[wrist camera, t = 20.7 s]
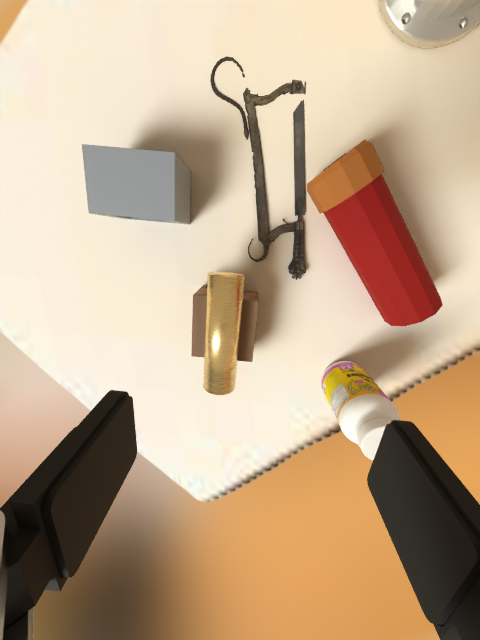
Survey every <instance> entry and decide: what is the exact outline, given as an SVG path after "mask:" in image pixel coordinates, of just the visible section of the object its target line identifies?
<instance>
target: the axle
mask: <svg viewBox="0 0 480 640" xmlns="http://www.w3.org/2000/svg"><path fill="white" fill-rule="evenodd" d="M244 279H245V276H244V275H242V274H238V273H232V272H209V273H208V286H207V310H206V333H205V356H204V380H203V387H204V389H205V390H206V391H207V392H209V393H211V394H215V395H224V394H228V393H230V392H232V391H233V390H234V388H235V380H236V368H237V357H238V346H239V335H240V324H241V312H242V301H243V290H244Z"/></svg>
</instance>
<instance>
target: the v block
mask: <svg viewBox="0 0 480 640" xmlns="http://www.w3.org/2000/svg"><path fill="white" fill-rule="evenodd" d="M258 304H259V299H258V293H257V292H246V291H243V301H242V312H241V324H240V335H239V346H238V357H237V360H238V361H249V362H252V358H253V349H254V340H255V331H256V322H257V313H258ZM206 310H207V288H202V287H201V288H200V289H199V290H198V291H197V292H196V293H195V294H194V295H193V322H192V356H196V357H204V356H205V333H206Z"/></svg>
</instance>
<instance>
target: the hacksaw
mask: <svg viewBox="0 0 480 640" xmlns="http://www.w3.org/2000/svg"><path fill="white" fill-rule="evenodd" d="M227 60H228V61H233V62H234V63H236V64H237V66H238V67H239V68H240V70H241V71H242V72H243V69H242V67H241V66H240V64H239V63H238V62H237V61H236V60H234V58H232V57H225V58H222V59H220V60H219V61H218V62H217V63H216V65H215V66H214V68H213V71H212V74H211V85H212V89H213V91H214V92H215V94H216V95H217V96H219V97H220V98H222V99H223V100H226V101H227V102H229V103H231V104H233V105H234V106H236V107H237V108H238V109H239V110H240V112H241V114H242V118H243V123H244V134H245V137H246V139H247V140H248V135H249V133H248V128H247V122H246V117H245V114H244V111H243V109H242V108H241V106H240V105H239V104H237V103H236V102H235V101H233V100H232V99H230V98H228V97H226V96H224V95H222V94H221V93H220V92H218V91H217V89H216V87H215V84H214V75H215V71H216V69H217V67H218V66H219V65H220V64H221V63H222V62H224V61H227ZM242 75H243V77H245V75H244V74H242ZM288 92H290V94H293V93H304V94H306V82H305V88H304V86H303V84H302V81H298V80H292V83H291V84H289V83H286V84H284V85H282V86H281V87H279V88H278V89H276V90H275V91H274V92H272V93H271V94H269V95H265V96H258V94H257V95H252V94H250V90H248V88H246V90H245V92H244V93H243V96H244V101H245V103H246V104H245V106H246V111H247V113H248V116H247V118H248V124H249V132H250V140H251V147H252V152H254V155H253V160H254V161H253V166H254V171H255V174H254V178H255V188H256V205H257V219H258V236H259V237H258V238H259V241H261V242H262V243H263V245H264V248H265V251H264V255H263V256H262V258H260V259H253V258H252V257H251V255H250V252H249V246H250V244H251V242H252V240H253V239H252V240H251V242H250V244H249V246H248V254H249V257H250V258H251V259H252V260H253V261H256V262H259V261H262V260H263V259H265V258H266V256H267V254H268V250H269V248H268V247H269V246H268V245H269V243H270V242H273V241H274V240H275V238H276V237H278V236H279V235H280V234H282V233H285V232H294V235H295V236H294V248H293V249H294V250H293V260H292V262H291V263H290V265H289V267H288V269H289V273H290V274H295V275H293V276H292V278H293V279H294V278H295V277H296V280H297V277H298V278H299V279H300V278H301V275H300V274H303V273H306V269H307V268H305V266H304V249H303V247H304V246H303V243H304V242H303V234H304V231H303V229H304V222H303V221H301V215H305V182H304V181H305V180H304V179H305V178H304V177H305V176H304V175H305V174H304V173H305V172H304V171H305V170H304V169H305V168H304V167H305V166H304V165H305V164H304V163H305V162H304V161H305V160H304V159H305V158H304V157H305V156H304V155H305V154H304V153H305V152H304V151H305V150H304V149H305V148H304V147H305V146H304V142H305V141H304V140H305V139H304V138H305V137H304V136H305V135H304V134H305V133H304V125H305V124H304V123H305V122H304V114H305V113H304V100H303V102H302V101H301V102H300V104H299V105H298V107H297V108H296V110H295V111H294V113H293V117H294V178H295V216H296V215H298V222H295V223H294V224H288V223H287V222H286V221H285V220H284V219H283V221H284V222H286V223H287V224H288V225H283V226H279V227H277V228H275V229H274V230H272V231H271V232H270V233H269V230H268V219H267V208H266V195H265V185H264V173H263V161H262V152H261V143H260V137H259V130H258V125H257V119H256V114H255V108H254V106H258V105H260V106H262V105H266V104H268V103H270V102H272V101H274V100H275V99H276V98H277V97H278V96H280V95H281V94H283V95H284V94H286V93H288Z"/></svg>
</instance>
